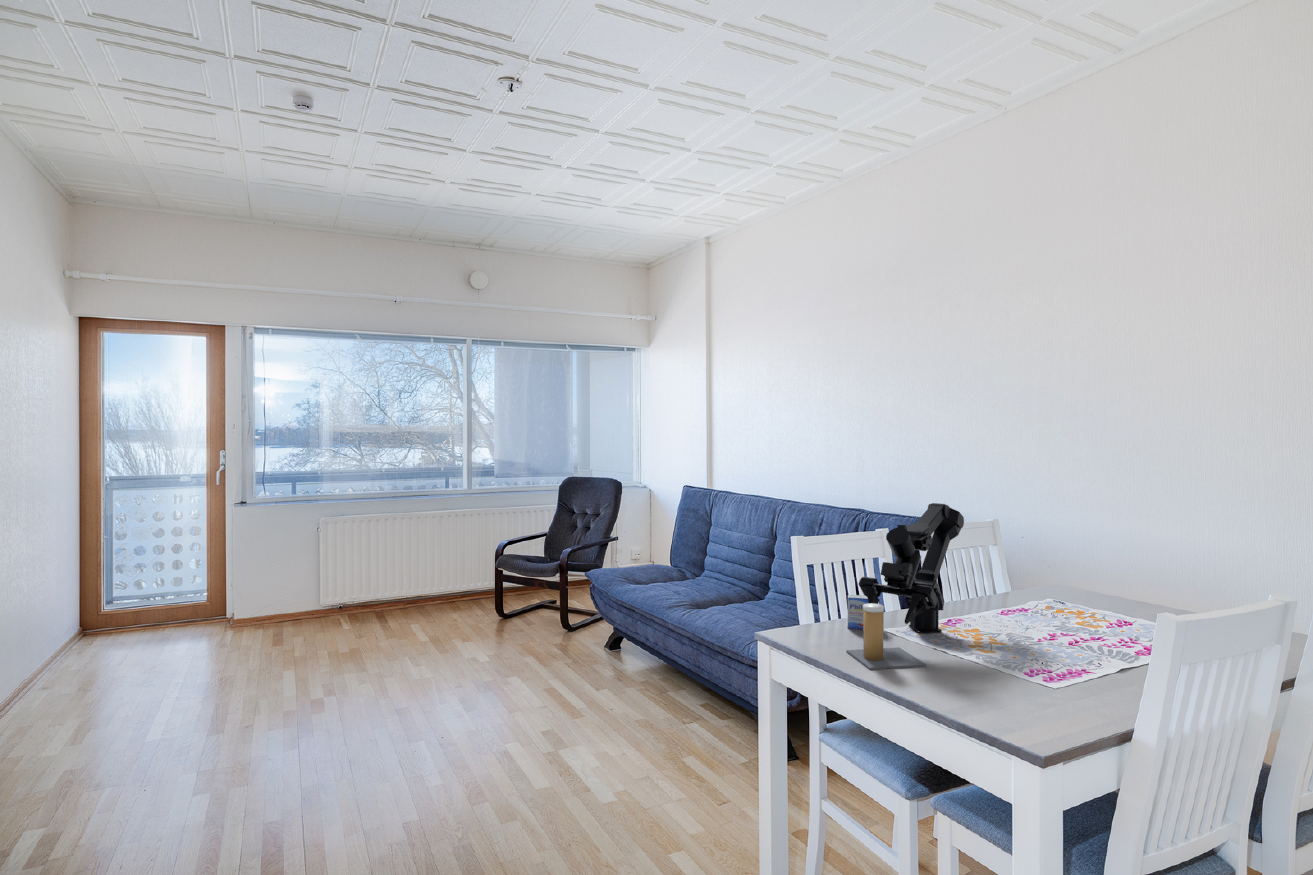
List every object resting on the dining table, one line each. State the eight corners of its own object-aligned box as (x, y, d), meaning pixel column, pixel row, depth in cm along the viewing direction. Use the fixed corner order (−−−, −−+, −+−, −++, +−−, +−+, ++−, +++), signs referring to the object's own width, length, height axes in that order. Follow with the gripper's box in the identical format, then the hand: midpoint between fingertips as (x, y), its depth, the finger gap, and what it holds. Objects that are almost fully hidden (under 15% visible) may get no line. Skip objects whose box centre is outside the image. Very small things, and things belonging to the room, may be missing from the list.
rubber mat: (899, 649, 182) (899, 647, 182) (926, 666, 169) (926, 664, 169) (846, 652, 179) (846, 650, 179) (869, 669, 167) (869, 667, 167)
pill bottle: (873, 653, 177) (873, 602, 177) (888, 658, 173) (888, 606, 173) (858, 656, 175) (858, 605, 174) (873, 662, 170) (873, 609, 170)
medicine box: (847, 628, 200) (847, 597, 200) (847, 624, 205) (848, 593, 204) (877, 630, 198) (877, 599, 198) (877, 626, 202) (877, 595, 202)
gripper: (861, 545, 189) (842, 595, 181) (933, 554, 177) (916, 607, 169) (874, 571, 195) (856, 620, 187) (944, 580, 183) (928, 633, 175)
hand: (887, 619), depth 180 cm, fingers open, 9 cm apart
